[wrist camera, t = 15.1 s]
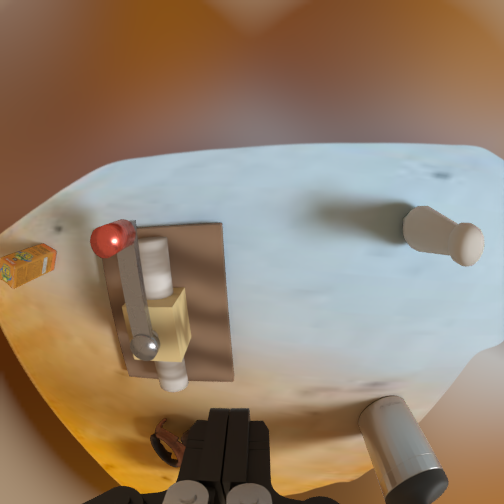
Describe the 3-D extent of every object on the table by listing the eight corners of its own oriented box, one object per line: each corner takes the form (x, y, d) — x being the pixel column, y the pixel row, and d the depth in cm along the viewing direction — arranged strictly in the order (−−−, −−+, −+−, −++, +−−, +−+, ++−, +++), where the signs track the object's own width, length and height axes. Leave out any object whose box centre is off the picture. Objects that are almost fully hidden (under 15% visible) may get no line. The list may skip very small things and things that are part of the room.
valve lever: (162, 354, 30) (148, 382, 25) (138, 352, 30) (121, 379, 25) (140, 216, 27) (117, 225, 22) (113, 218, 27) (86, 227, 22)
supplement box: (58, 249, 37) (14, 268, 27) (54, 269, 38) (13, 292, 28) (42, 240, 37) (-1, 257, 27) (39, 260, 37) (-2, 281, 28)
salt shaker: (415, 255, 36) (472, 287, 24) (388, 230, 36) (443, 256, 23) (438, 220, 35) (499, 240, 22) (411, 194, 34) (473, 205, 22)
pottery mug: (202, 452, 47) (173, 475, 40) (170, 416, 49) (139, 435, 42) (235, 436, 41) (203, 465, 34) (197, 393, 44) (162, 417, 37)
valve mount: (234, 375, 41) (229, 415, 33) (132, 370, 41) (112, 405, 33) (222, 222, 36) (211, 236, 27) (103, 230, 36) (68, 244, 28)
